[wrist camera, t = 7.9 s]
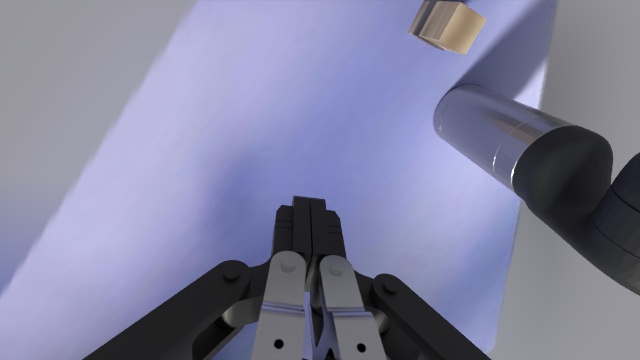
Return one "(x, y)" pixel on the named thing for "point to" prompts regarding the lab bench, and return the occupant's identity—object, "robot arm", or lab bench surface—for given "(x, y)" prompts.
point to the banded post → (447, 25)
